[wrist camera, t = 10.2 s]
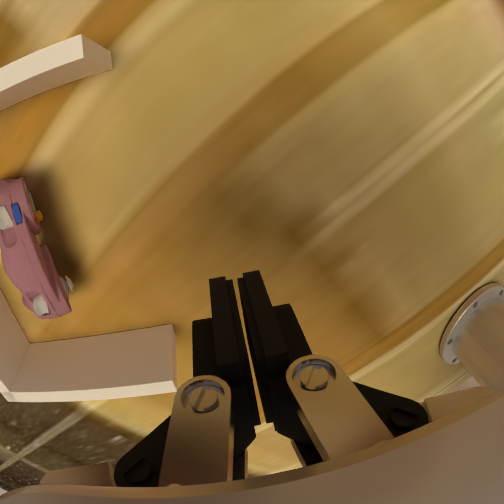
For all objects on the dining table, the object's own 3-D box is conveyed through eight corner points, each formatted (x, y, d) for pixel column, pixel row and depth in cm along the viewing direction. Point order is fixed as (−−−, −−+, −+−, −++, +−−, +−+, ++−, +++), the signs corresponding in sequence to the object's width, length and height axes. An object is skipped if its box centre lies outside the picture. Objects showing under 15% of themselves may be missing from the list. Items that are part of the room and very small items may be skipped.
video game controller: (73, 280, 23) (89, 323, 18) (26, 302, 21) (30, 351, 16) (33, 163, 18) (31, 170, 13) (-19, 186, 16) (-40, 203, 11)
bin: (110, 51, 15) (81, 34, 10) (175, 334, 25) (177, 391, 20) (-60, 128, 13) (-109, 144, 8) (26, 354, 23) (8, 401, 18)
